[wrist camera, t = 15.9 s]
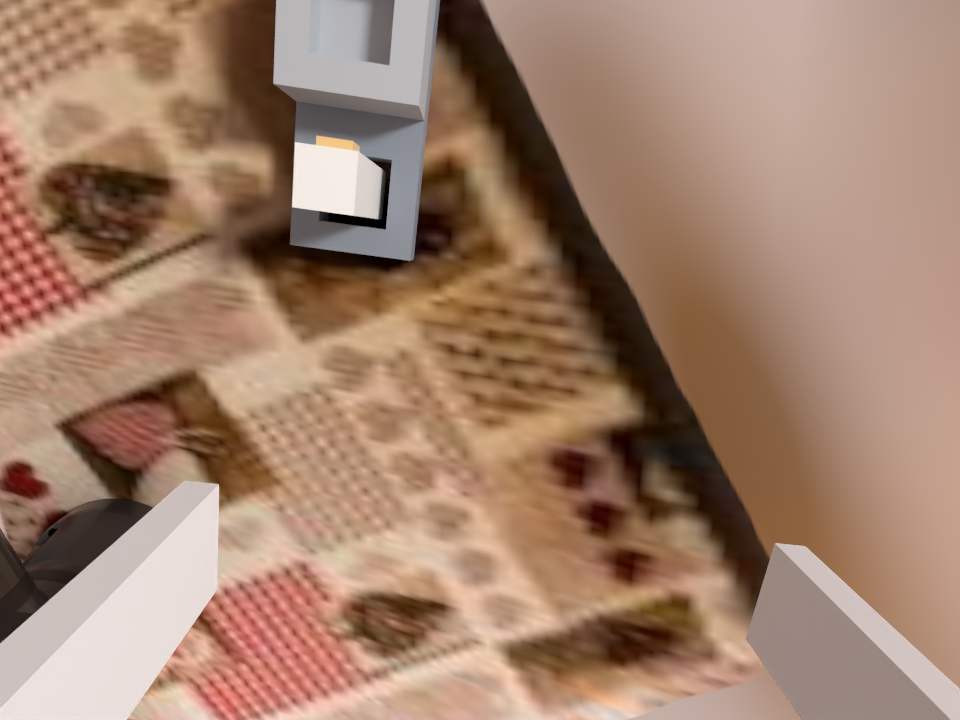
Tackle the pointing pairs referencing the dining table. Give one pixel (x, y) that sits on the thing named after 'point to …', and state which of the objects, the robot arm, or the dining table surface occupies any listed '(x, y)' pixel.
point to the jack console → (361, 103)
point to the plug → (337, 179)
